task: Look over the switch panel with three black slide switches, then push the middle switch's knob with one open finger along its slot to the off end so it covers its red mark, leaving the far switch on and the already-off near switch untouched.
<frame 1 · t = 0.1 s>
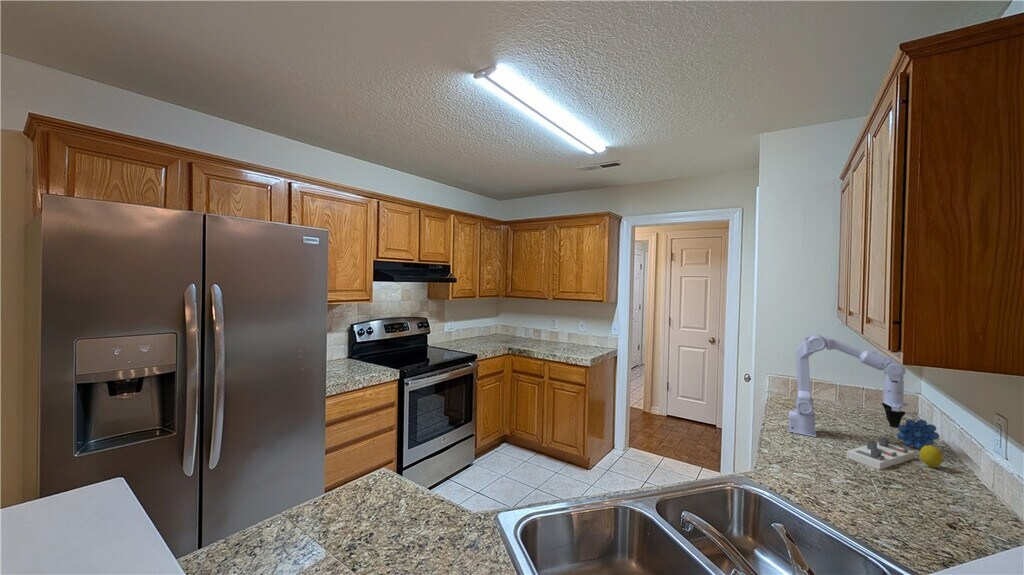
hand: (892, 424, 150), 10 cm above the countertop, tool pointing down, fingers open, 7 cm apart
switch far: (883, 441, 148), point 4 cm above the countertop, slide at 0.0 cm
lemon: (930, 467, 136), on the countertop
switch panel: (880, 457, 143), on the countertop
switch near: (876, 453, 137), point 4 cm above the countertop, slide at 4.8 cm
switch middle: (872, 444, 145), point 4 cm above the countertop, slide at 0.0 cm
grapes: (916, 448, 151), on the countertop
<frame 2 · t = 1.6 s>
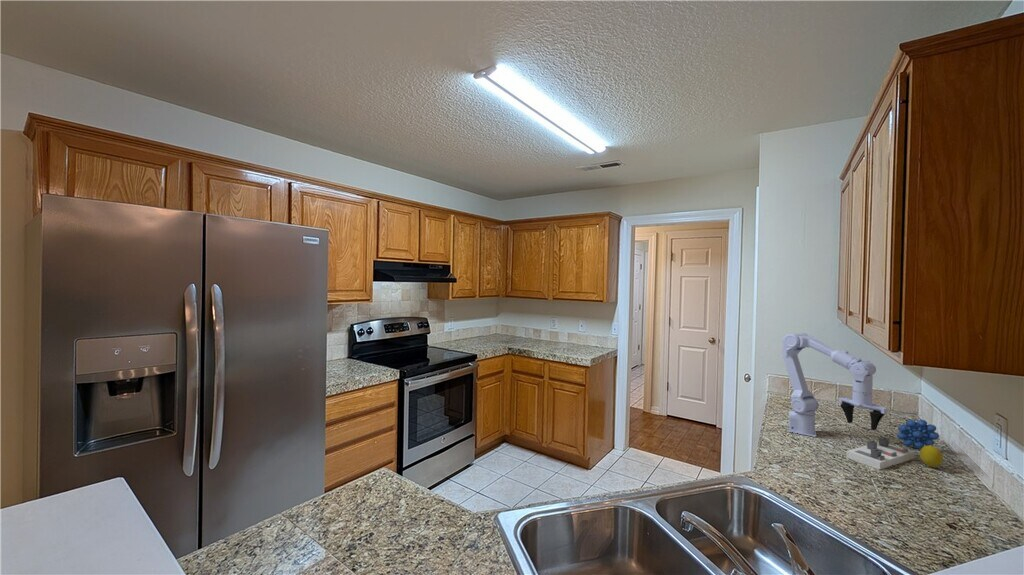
hand: (861, 425, 148), 10 cm above the countertop, tool pointing down, fingers open, 7 cm apart
nothing on the countertop moved.
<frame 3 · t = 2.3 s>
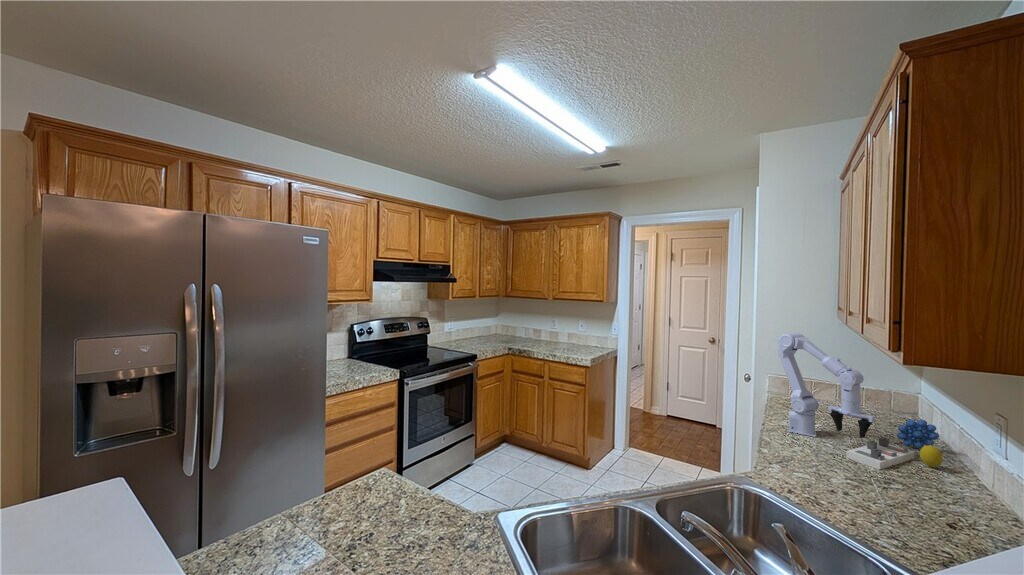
hand: (850, 433, 151), 6 cm above the countertop, tool pointing down, fingers open, 7 cm apart
nothing on the countertop moved.
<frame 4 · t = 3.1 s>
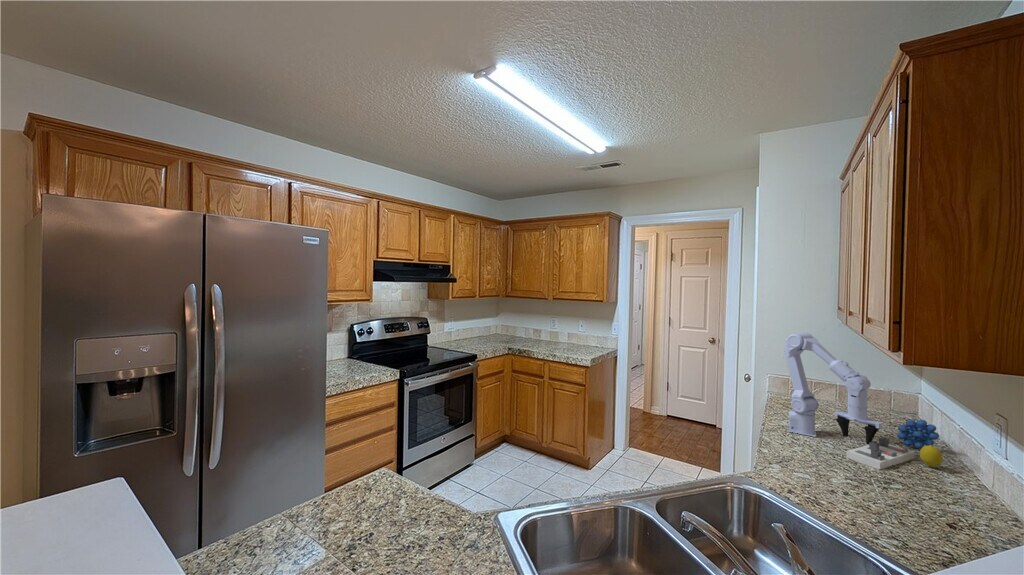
hand: (857, 440, 149), 4 cm above the countertop, tool pointing down, fingers open, 7 cm apart
switch middle: (874, 445, 144), point 4 cm above the countertop, slide at 0.7 cm, touching gripper
everything else where it was.
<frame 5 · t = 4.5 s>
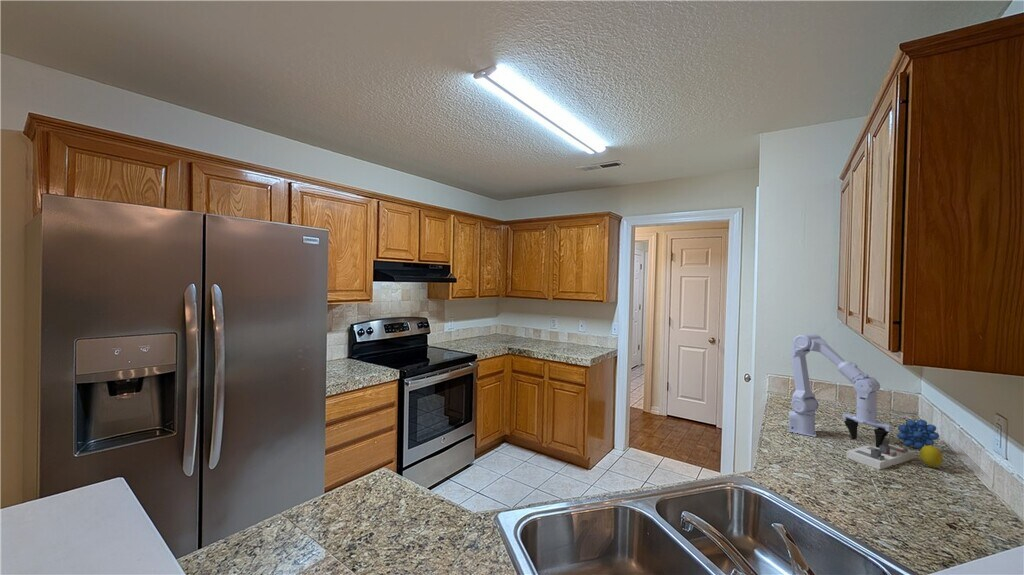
hand: (866, 443, 147), 4 cm above the countertop, tool pointing down, fingers open, 7 cm apart
switch middle: (884, 448, 141), point 4 cm above the countertop, slide at 3.8 cm
everything else where it was.
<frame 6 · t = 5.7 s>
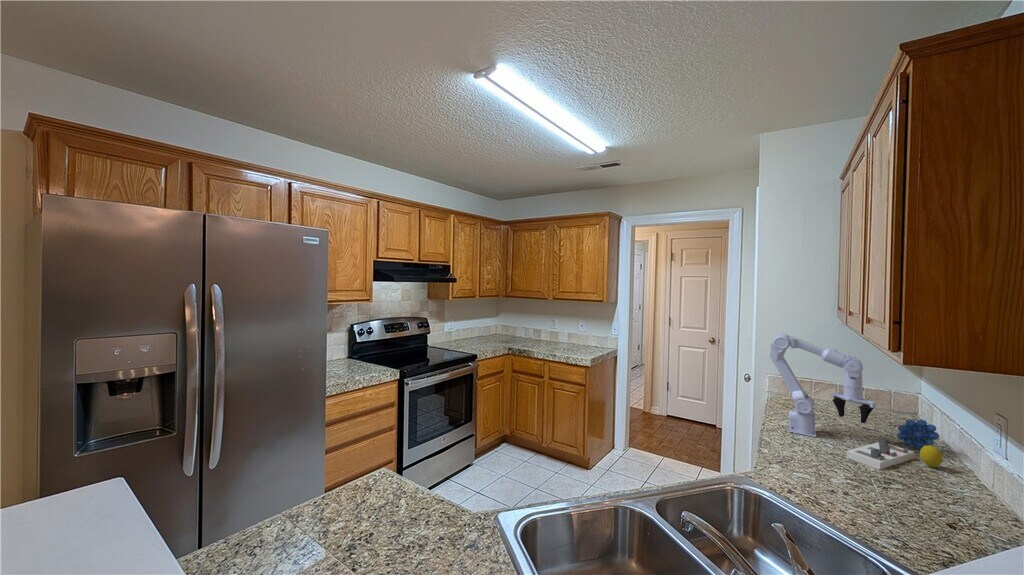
hand: (852, 419, 156), 10 cm above the countertop, tool pointing down, fingers open, 7 cm apart
nothing on the countertop moved.
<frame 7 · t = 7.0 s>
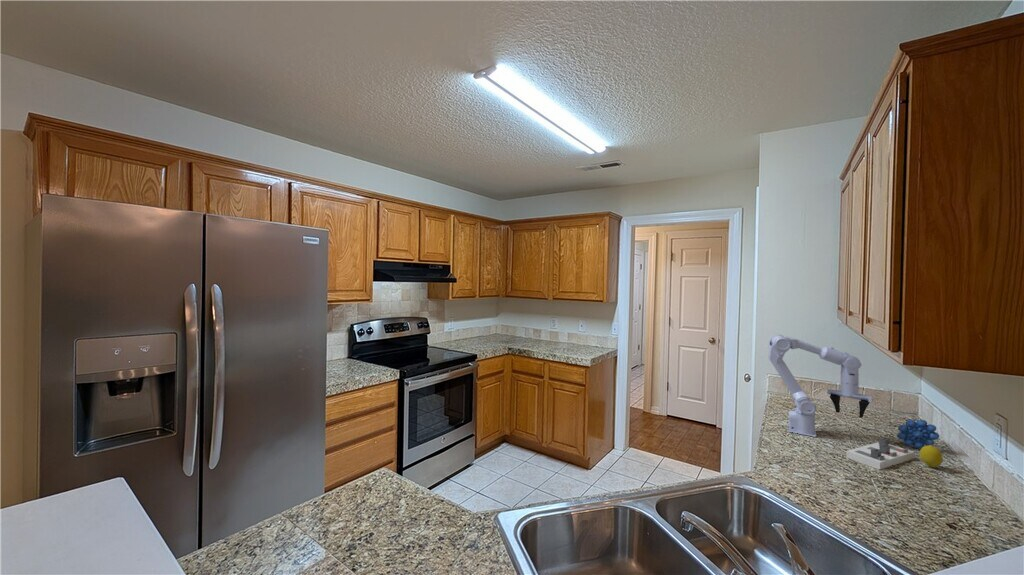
hand: (849, 414, 160), 10 cm above the countertop, tool pointing down, fingers open, 7 cm apart
nothing on the countertop moved.
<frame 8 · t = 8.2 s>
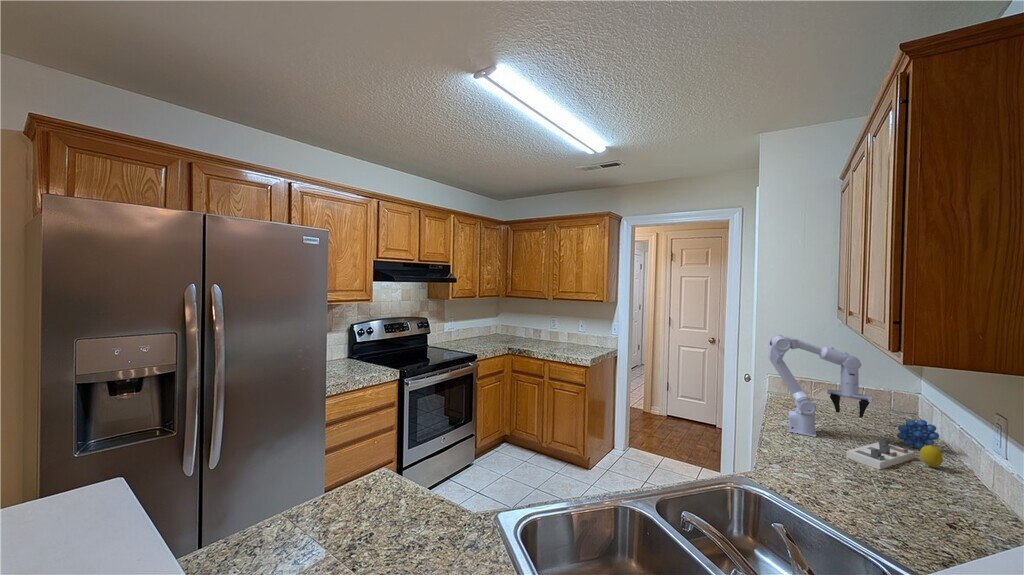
hand: (849, 414, 160), 10 cm above the countertop, tool pointing down, fingers open, 7 cm apart
nothing on the countertop moved.
at the end: switch middle slide at 3.8 cm; switch far slide at 0.0 cm; switch near slide at 4.8 cm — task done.
